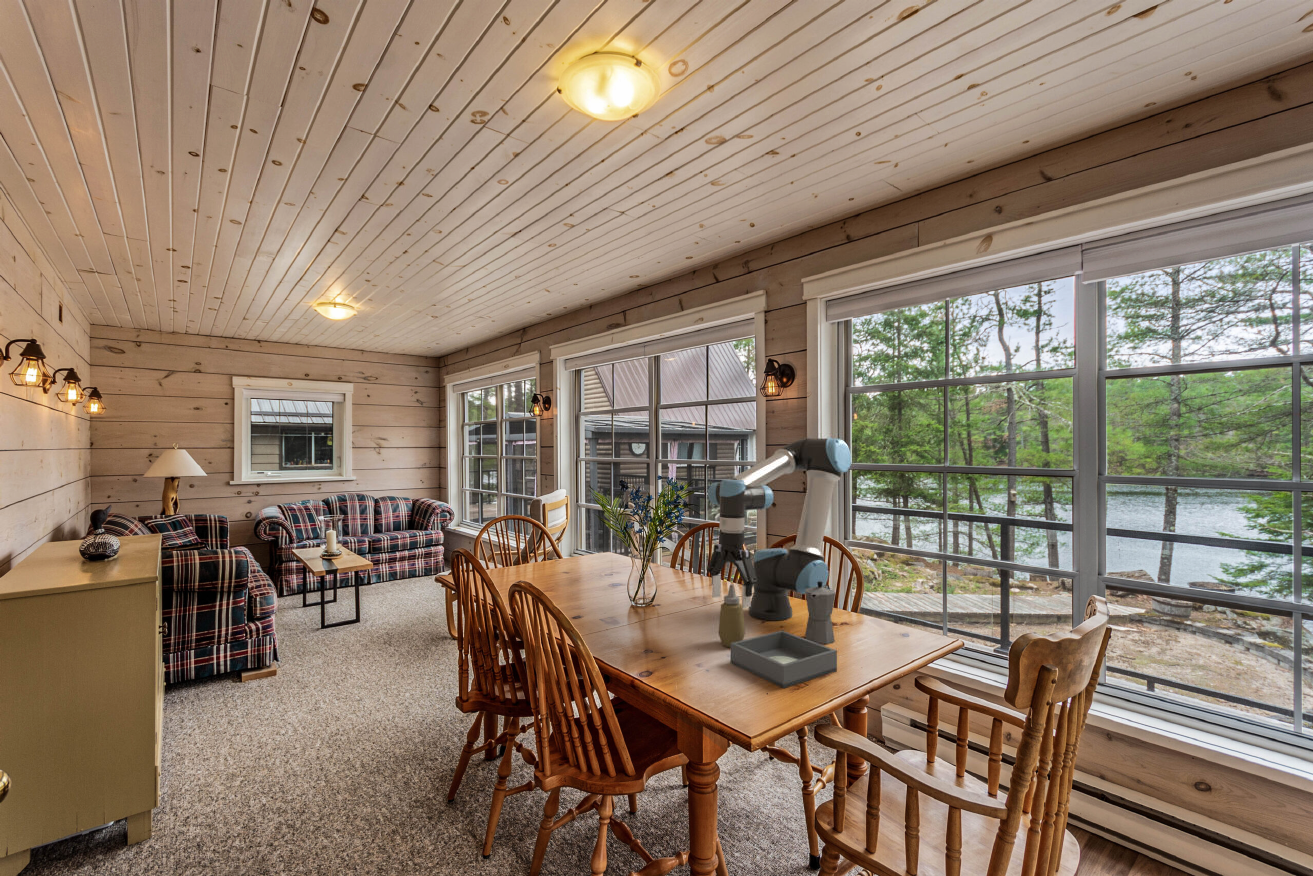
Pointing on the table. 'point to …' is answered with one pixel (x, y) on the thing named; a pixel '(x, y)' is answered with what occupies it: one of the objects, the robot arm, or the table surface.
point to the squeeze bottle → (731, 619)
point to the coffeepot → (820, 614)
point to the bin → (783, 658)
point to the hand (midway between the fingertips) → (730, 601)
